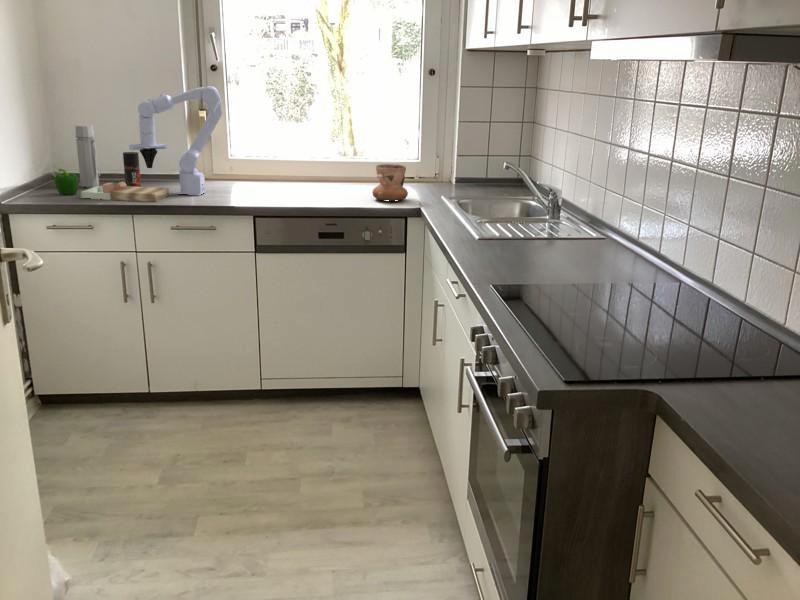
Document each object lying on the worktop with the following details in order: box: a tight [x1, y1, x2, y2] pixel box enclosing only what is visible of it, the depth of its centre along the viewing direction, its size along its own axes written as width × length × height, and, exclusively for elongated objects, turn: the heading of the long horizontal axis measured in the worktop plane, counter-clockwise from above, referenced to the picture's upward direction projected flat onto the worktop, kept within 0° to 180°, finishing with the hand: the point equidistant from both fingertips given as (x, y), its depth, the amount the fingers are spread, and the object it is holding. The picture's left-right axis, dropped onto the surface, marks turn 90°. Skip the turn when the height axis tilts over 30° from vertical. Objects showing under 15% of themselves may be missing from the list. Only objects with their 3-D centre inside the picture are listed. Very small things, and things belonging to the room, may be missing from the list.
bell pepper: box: [54, 168, 80, 196], centre depth 278 cm, size 8×8×10 cm
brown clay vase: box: [372, 163, 409, 201], centre depth 291 cm, size 18×14×14 cm
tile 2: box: [101, 182, 115, 197], centre depth 275 cm, size 5×5×2 cm
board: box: [111, 186, 170, 203], centre depth 278 cm, size 17×14×3 cm
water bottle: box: [74, 124, 101, 189], centre depth 293 cm, size 9×8×25 cm
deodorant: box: [122, 151, 142, 187], centre depth 293 cm, size 6×6×15 cm
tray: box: [79, 185, 112, 201], centre depth 279 cm, size 12×15×2 cm
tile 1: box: [113, 180, 127, 191], centre depth 281 cm, size 5×5×2 cm
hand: (149, 167), depth 284 cm, fingers closed
